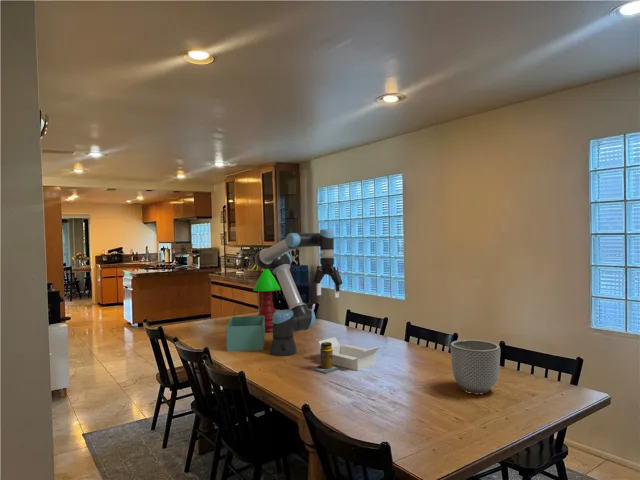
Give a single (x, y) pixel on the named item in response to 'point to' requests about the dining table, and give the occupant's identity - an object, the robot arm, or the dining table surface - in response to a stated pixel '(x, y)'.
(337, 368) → the coaster
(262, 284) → the table lamp
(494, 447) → the dining table surface
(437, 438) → the dining table surface
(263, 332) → the box
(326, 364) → the condiment
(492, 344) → the planter
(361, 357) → the carton
